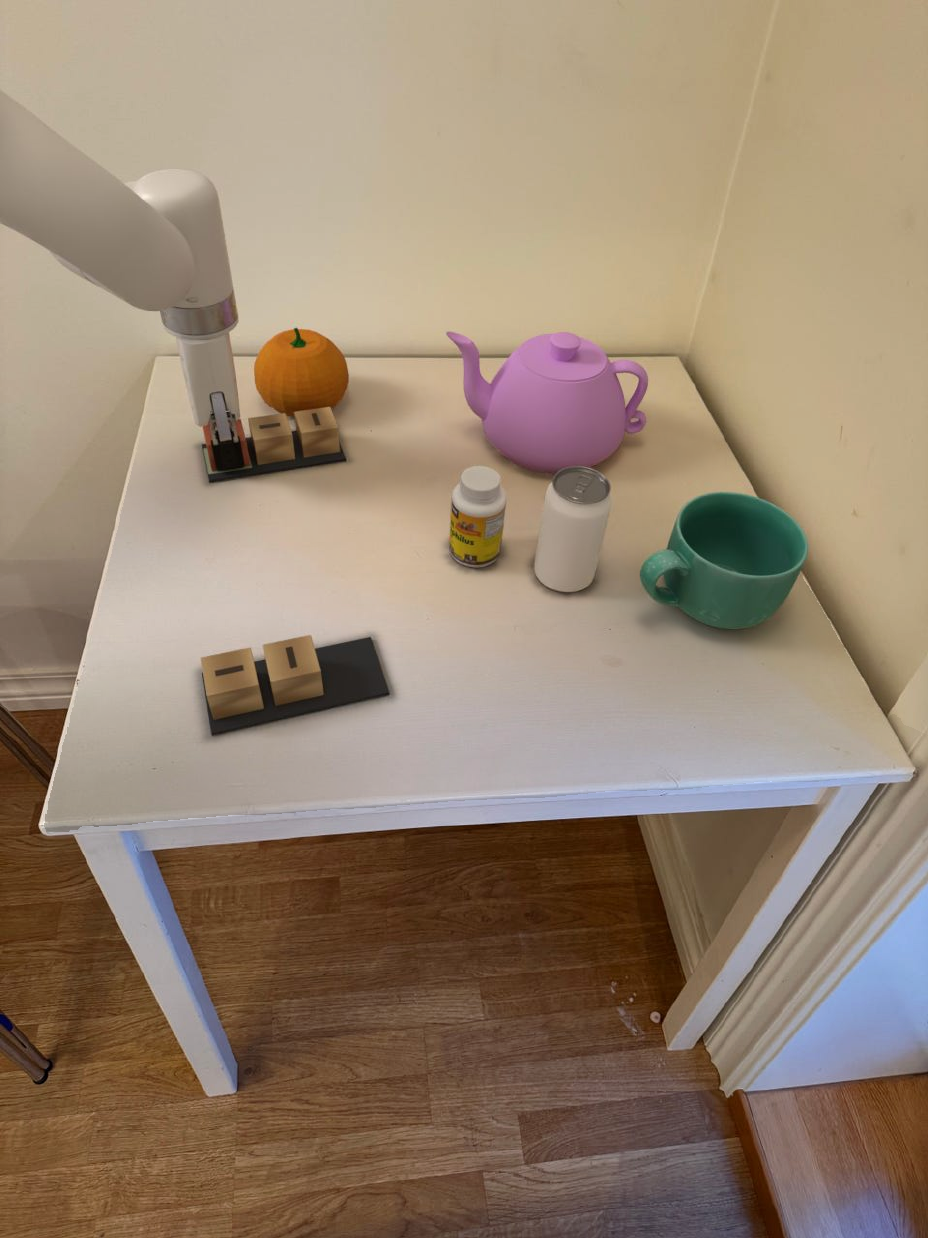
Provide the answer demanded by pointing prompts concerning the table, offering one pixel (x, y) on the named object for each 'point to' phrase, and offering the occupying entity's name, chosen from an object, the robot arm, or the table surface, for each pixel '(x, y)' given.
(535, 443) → the teapot
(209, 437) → the striped orange cube
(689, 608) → the mug
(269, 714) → the front mat
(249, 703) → the wooden cube
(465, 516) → the supplement bottle
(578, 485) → the can
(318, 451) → the pair of dash-marked blocks
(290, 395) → the fruit
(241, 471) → the back mat
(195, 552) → the table surface
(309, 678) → the wooden cube
